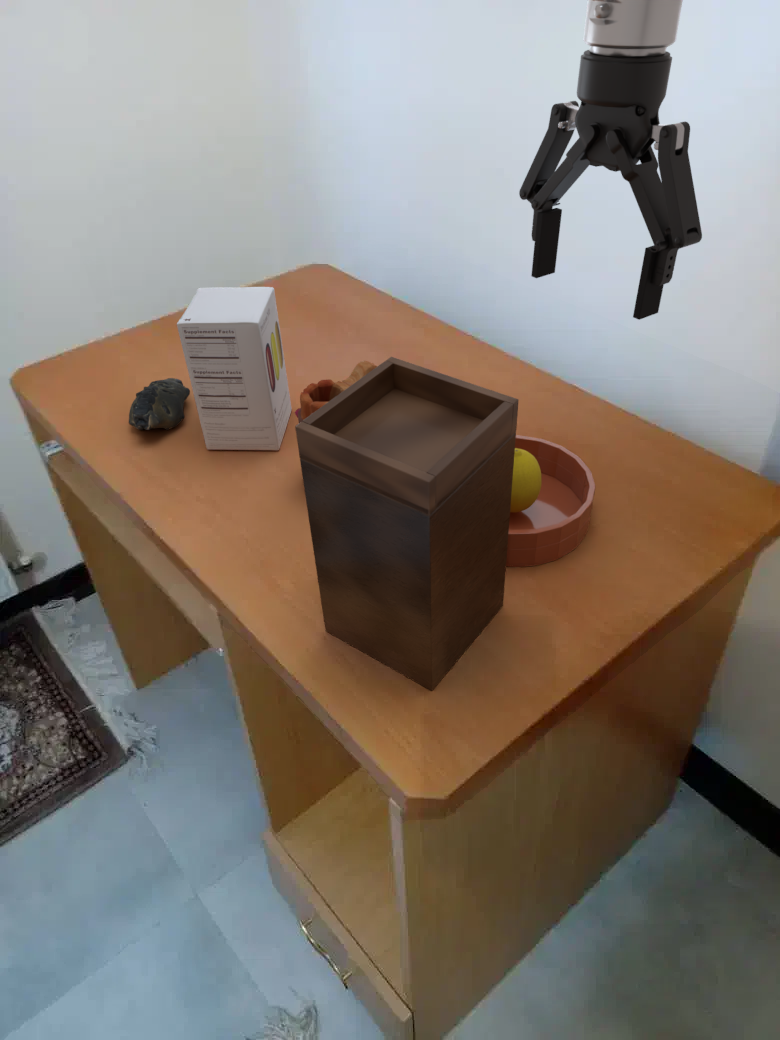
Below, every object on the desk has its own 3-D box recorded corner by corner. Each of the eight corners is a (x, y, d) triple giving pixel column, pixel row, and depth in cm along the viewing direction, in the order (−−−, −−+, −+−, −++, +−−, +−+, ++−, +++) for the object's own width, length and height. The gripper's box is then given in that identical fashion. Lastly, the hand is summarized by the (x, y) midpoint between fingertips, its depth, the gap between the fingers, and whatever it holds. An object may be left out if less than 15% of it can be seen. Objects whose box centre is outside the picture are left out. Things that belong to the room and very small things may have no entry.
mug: (328, 511, 86) (316, 413, 78) (289, 484, 90) (274, 388, 82) (409, 461, 92) (406, 365, 84) (369, 437, 96) (363, 344, 88)
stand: (503, 605, 75) (516, 431, 62) (431, 691, 68) (429, 516, 55) (400, 556, 80) (392, 387, 67) (325, 631, 73) (299, 458, 60)
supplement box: (280, 452, 95) (258, 323, 84) (205, 451, 96) (173, 324, 84) (293, 408, 102) (275, 284, 91) (223, 407, 103) (196, 285, 92)
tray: (516, 431, 62) (518, 399, 60) (429, 516, 55) (429, 482, 53) (392, 387, 67) (391, 356, 65) (299, 458, 60) (294, 426, 58)
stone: (201, 388, 107) (193, 352, 103) (177, 444, 97) (167, 407, 93) (152, 388, 107) (142, 353, 104) (122, 445, 97) (111, 408, 94)
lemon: (478, 500, 86) (480, 440, 81) (524, 489, 87) (530, 429, 82) (498, 533, 82) (502, 472, 77) (547, 520, 83) (554, 459, 78)
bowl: (615, 499, 86) (621, 466, 83) (543, 589, 76) (547, 556, 73) (486, 451, 93) (487, 419, 90) (406, 527, 84) (405, 494, 81)
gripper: (493, 39, 73) (480, 267, 86) (728, 70, 57) (668, 345, 69) (552, 32, 76) (531, 252, 89) (788, 60, 60) (721, 324, 73)
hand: (591, 294), depth 79 cm, fingers open, 13 cm apart
